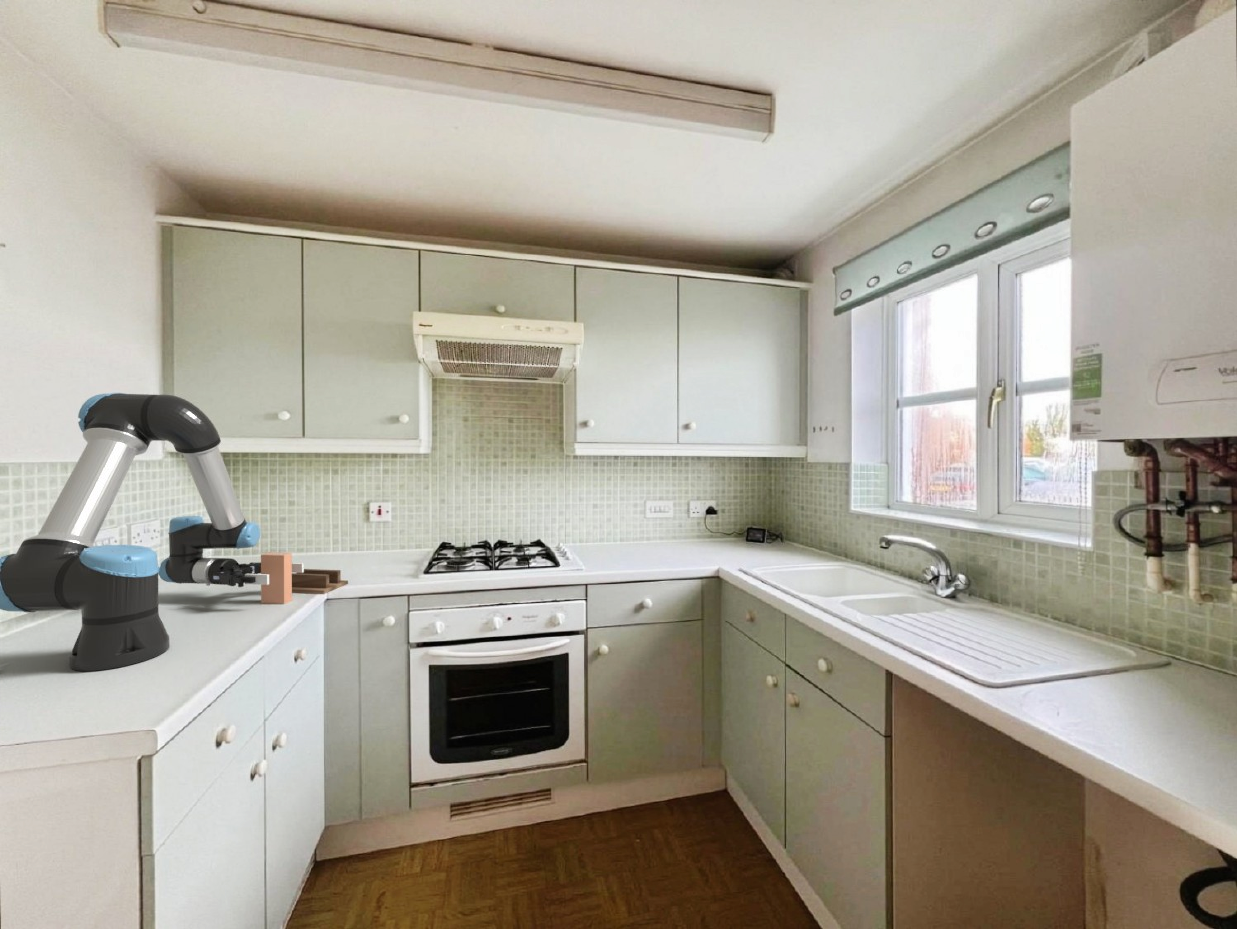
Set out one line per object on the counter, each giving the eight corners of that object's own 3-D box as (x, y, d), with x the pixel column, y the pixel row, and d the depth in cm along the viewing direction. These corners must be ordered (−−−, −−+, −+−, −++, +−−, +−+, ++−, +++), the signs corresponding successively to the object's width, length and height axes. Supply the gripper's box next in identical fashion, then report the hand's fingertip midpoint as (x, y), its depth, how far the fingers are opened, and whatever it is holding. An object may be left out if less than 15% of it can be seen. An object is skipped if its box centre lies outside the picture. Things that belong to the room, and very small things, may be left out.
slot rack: (323, 594, 154) (323, 577, 153) (274, 592, 155) (274, 576, 155) (348, 583, 166) (348, 568, 165) (302, 581, 167) (302, 567, 167)
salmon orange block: (284, 604, 143) (283, 555, 143) (261, 603, 144) (260, 554, 144) (291, 600, 146) (291, 553, 146) (269, 600, 147) (268, 552, 147)
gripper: (251, 573, 159) (315, 575, 157) (176, 596, 134) (251, 599, 133) (251, 549, 159) (315, 551, 157) (176, 568, 134) (251, 571, 132)
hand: (286, 573), depth 145 cm, fingers open, 13 cm apart
